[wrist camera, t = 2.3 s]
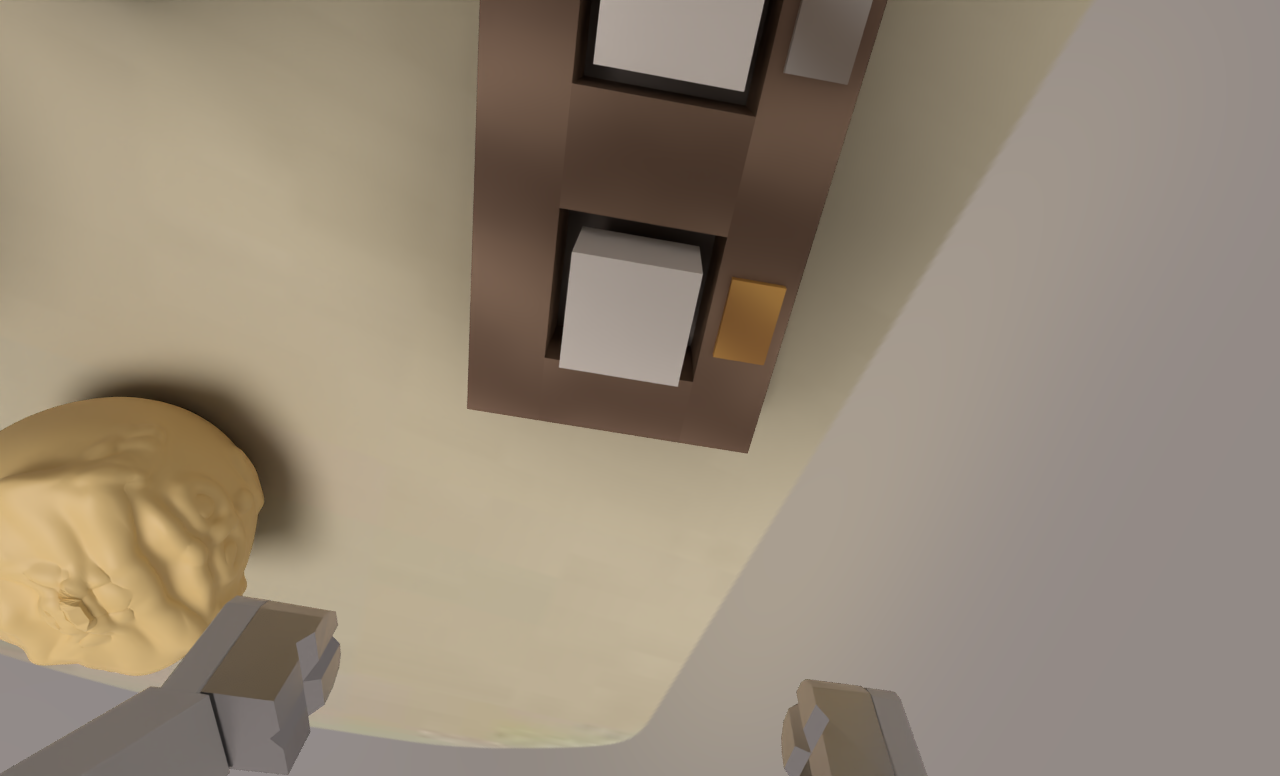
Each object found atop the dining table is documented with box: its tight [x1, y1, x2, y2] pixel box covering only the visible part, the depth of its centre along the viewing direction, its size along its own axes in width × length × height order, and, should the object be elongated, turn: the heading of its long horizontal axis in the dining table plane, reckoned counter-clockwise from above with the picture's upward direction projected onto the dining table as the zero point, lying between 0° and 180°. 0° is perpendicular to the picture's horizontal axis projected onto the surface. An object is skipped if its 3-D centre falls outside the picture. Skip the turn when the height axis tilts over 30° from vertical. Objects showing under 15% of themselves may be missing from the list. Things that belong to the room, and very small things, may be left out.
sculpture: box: [0, 397, 264, 676], centre depth 29 cm, size 11×12×11 cm
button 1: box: [559, 226, 703, 387], centre depth 23 cm, size 4×4×3 cm
